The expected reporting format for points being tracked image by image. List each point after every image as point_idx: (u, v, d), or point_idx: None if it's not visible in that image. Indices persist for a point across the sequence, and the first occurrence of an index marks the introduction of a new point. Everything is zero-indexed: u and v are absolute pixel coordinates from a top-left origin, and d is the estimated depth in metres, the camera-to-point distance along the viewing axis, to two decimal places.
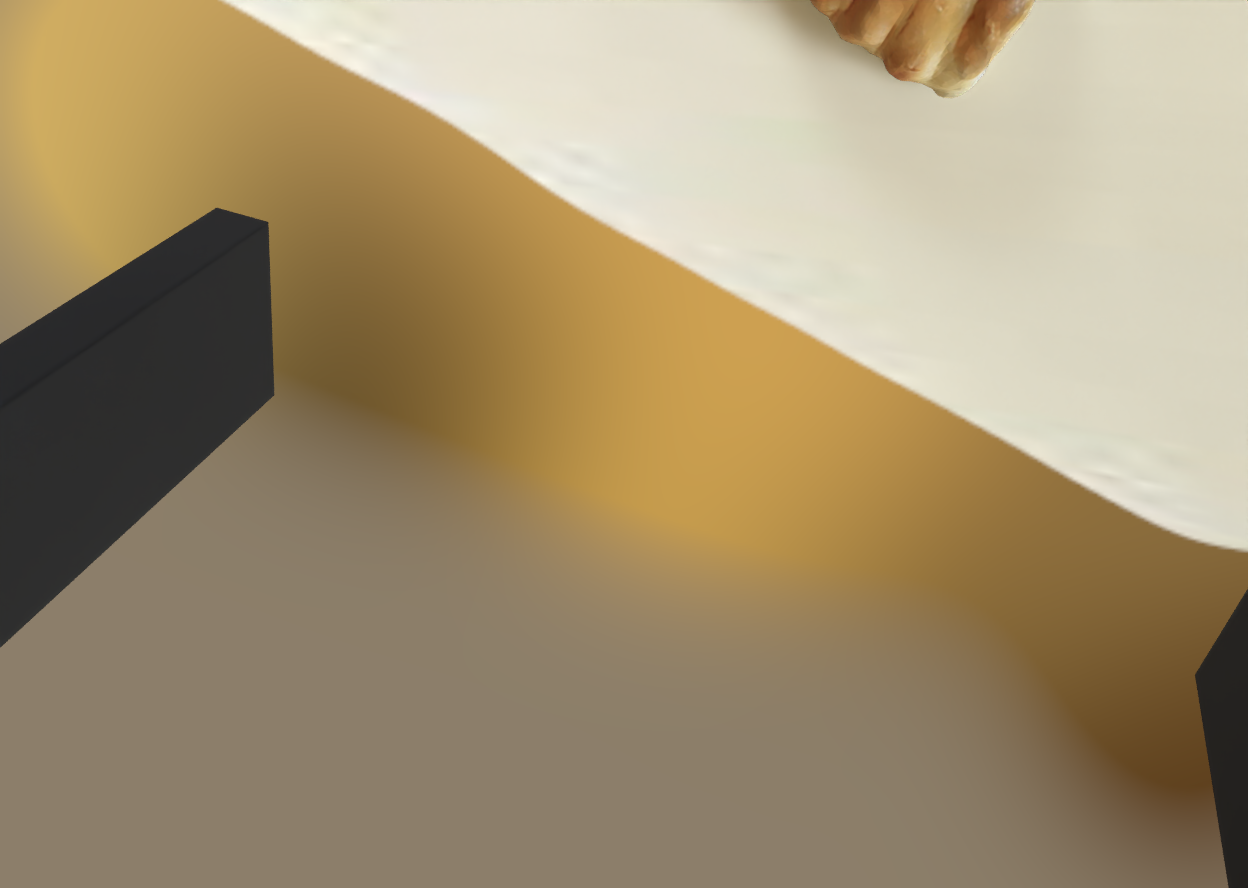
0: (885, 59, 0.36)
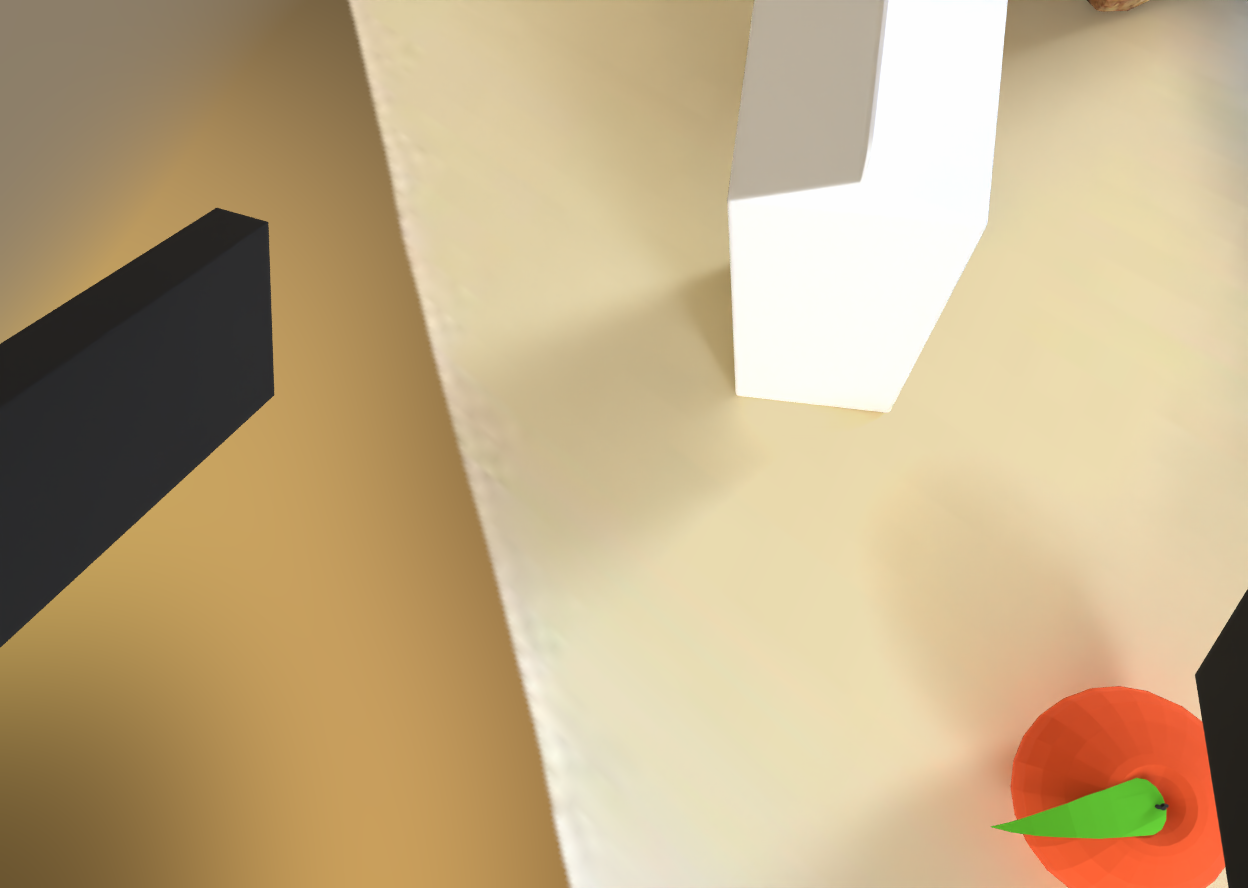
0: None
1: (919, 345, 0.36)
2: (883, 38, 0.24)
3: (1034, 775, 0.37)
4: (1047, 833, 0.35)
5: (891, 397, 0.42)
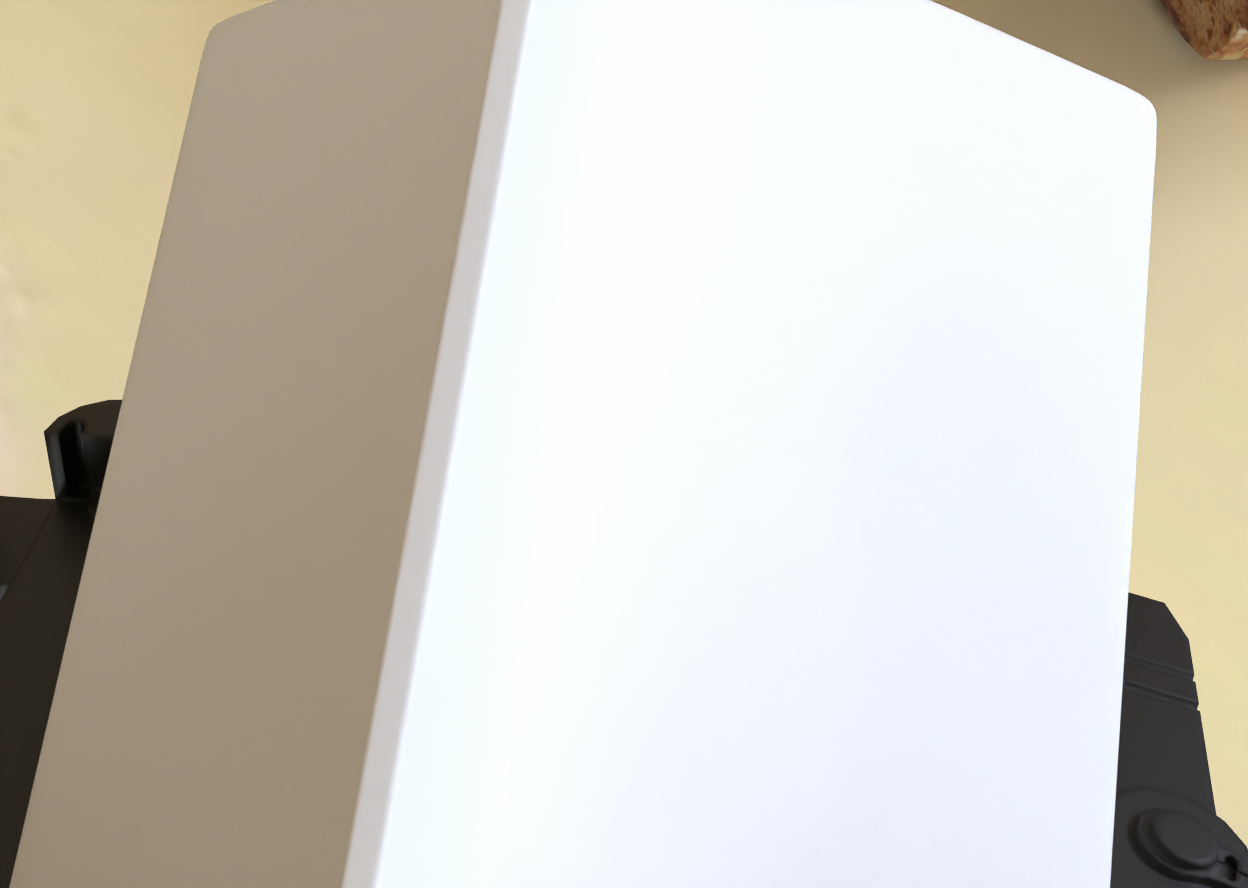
0: None
1: None
2: (430, 541, 0.03)
3: None
4: None
5: None
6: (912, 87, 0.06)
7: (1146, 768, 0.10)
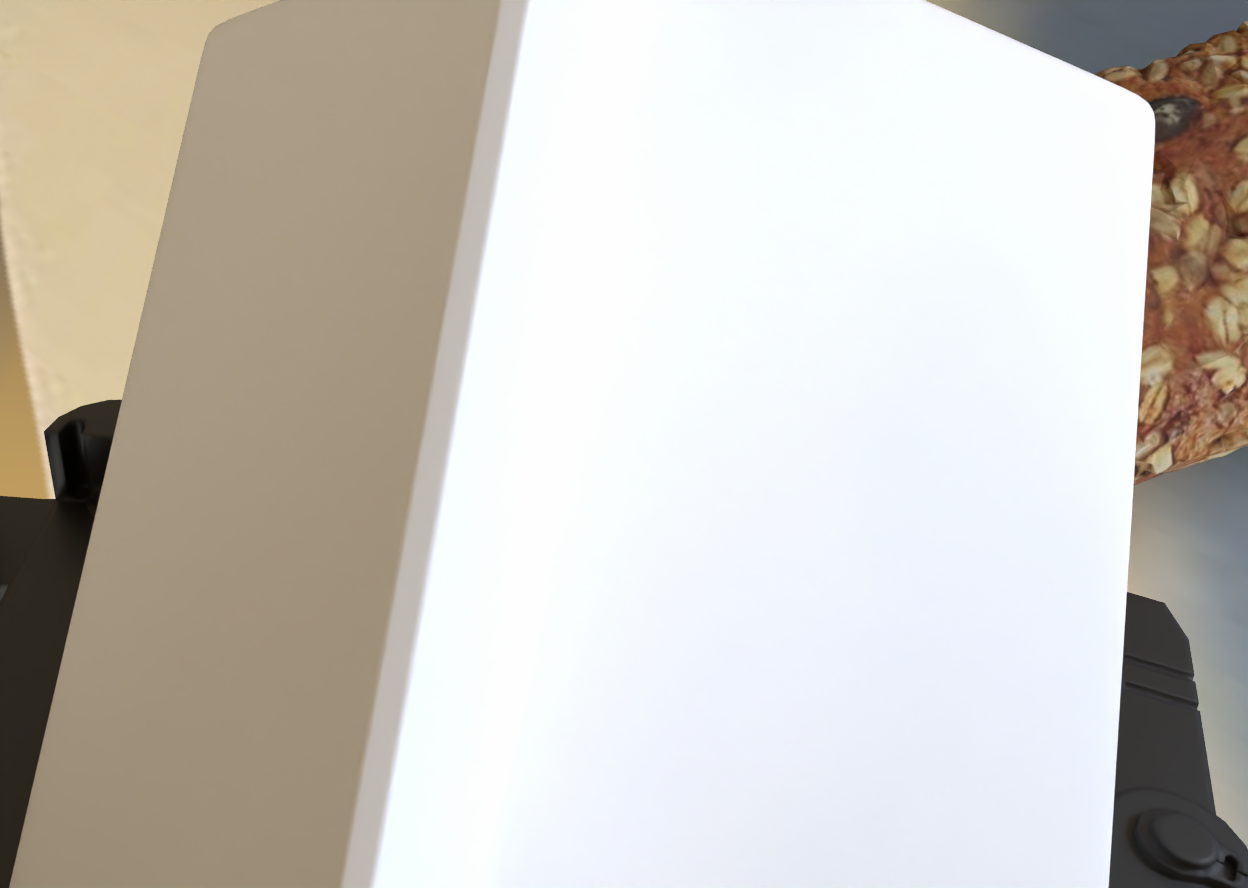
0: None
1: None
2: (427, 545, 0.03)
3: None
4: None
5: None
6: (911, 88, 0.06)
7: (1146, 767, 0.10)
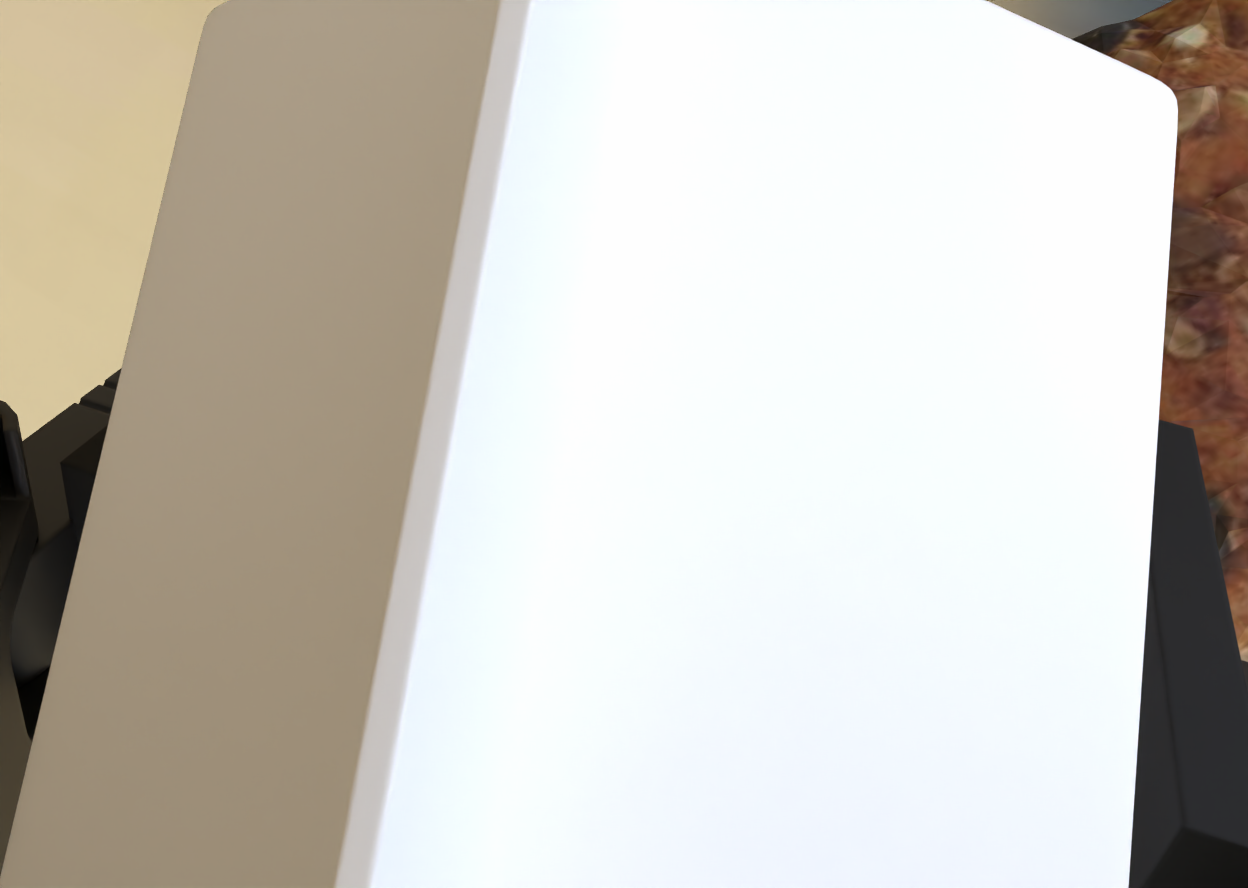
0: None
1: None
2: (427, 535, 0.03)
3: None
4: None
5: None
6: (929, 70, 0.06)
7: None
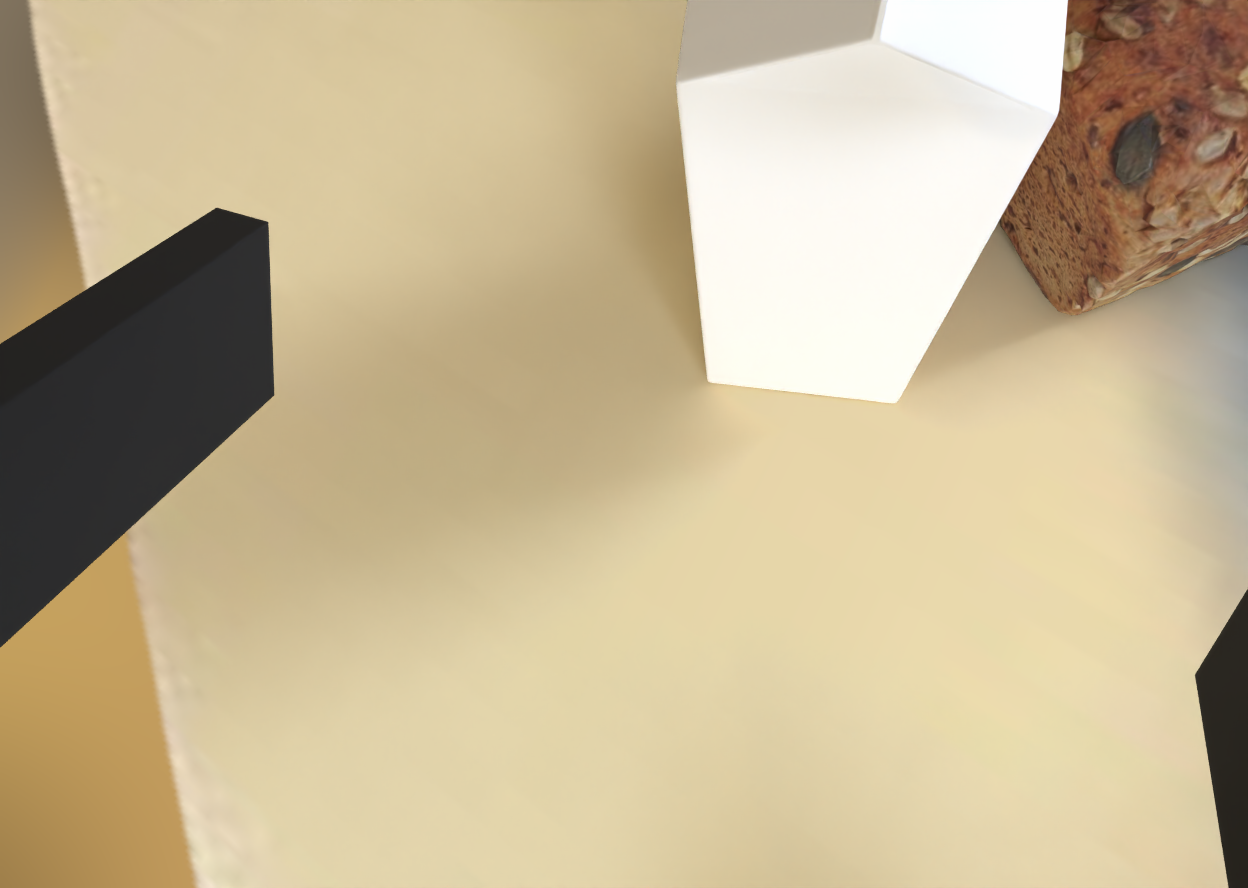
0: None
1: (941, 311, 0.27)
2: None
3: None
4: None
5: (900, 383, 0.34)
6: None
7: None
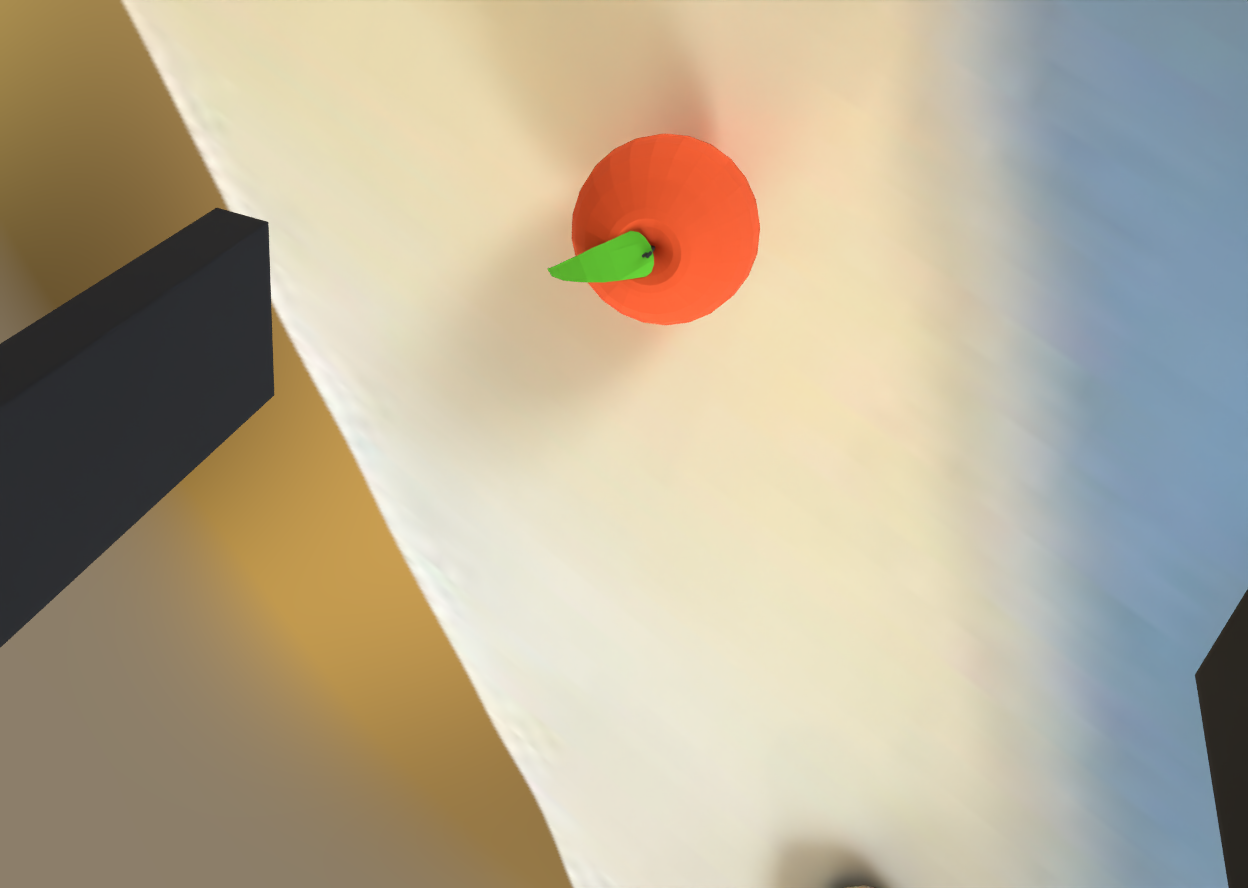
0: None
1: None
2: None
3: (574, 225, 0.42)
4: (569, 278, 0.42)
5: None
6: None
7: None
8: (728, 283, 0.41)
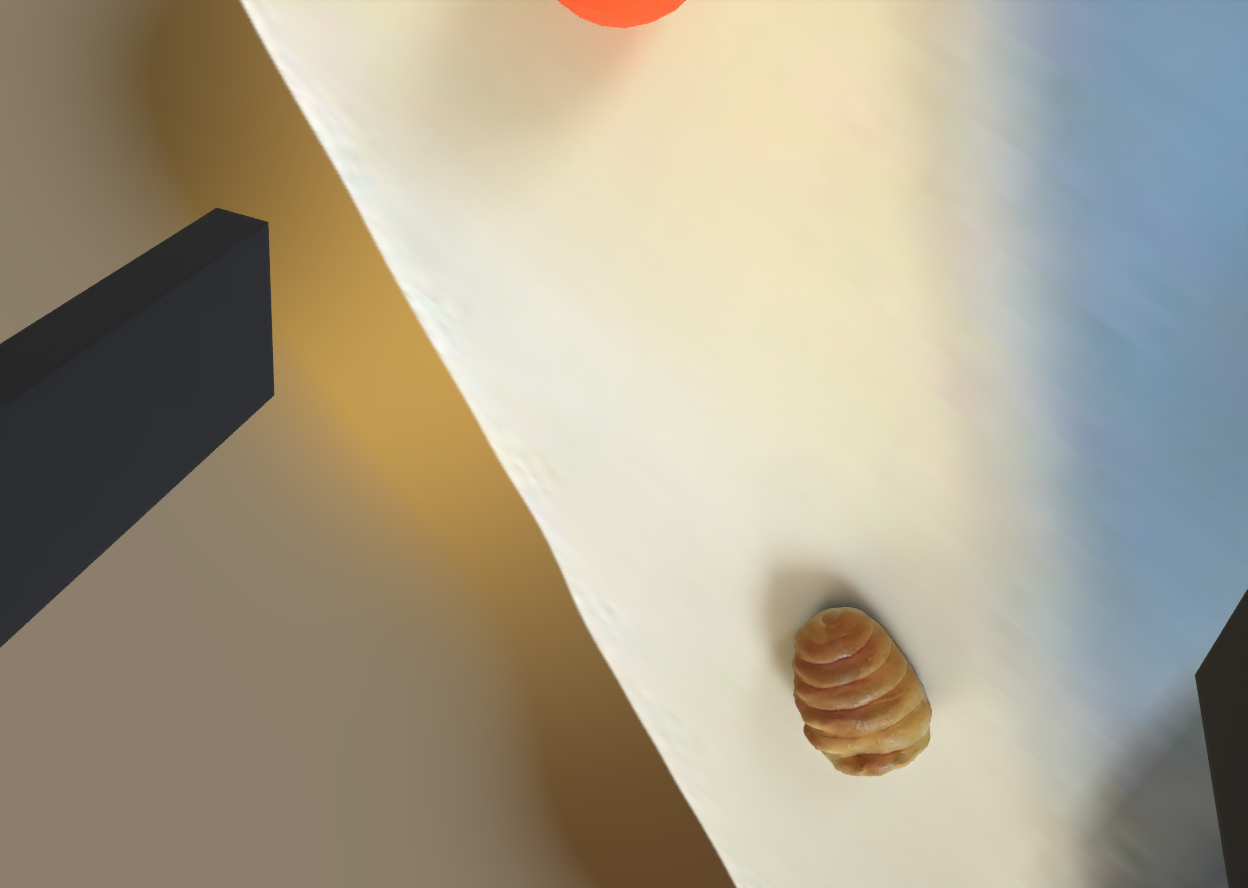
0: (807, 729, 0.62)
1: None
2: None
3: None
4: None
5: None
6: None
7: None
8: None
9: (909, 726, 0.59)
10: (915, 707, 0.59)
